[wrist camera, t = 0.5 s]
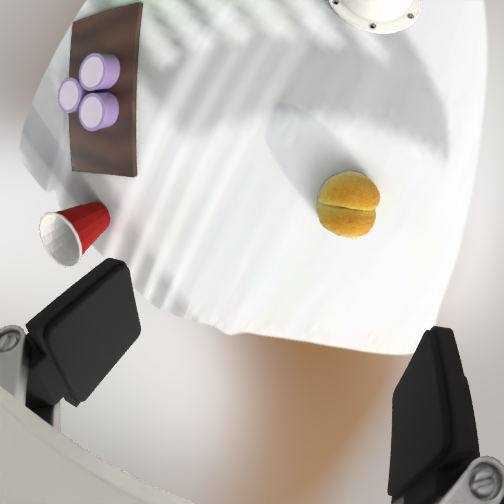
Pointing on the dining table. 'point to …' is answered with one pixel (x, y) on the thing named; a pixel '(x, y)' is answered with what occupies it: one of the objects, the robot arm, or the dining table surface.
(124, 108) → the board
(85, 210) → the plastic cup
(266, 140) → the dining table surface
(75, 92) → the lavender cylinder puck
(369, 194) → the bread roll
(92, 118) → the lavender round puck
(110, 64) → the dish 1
